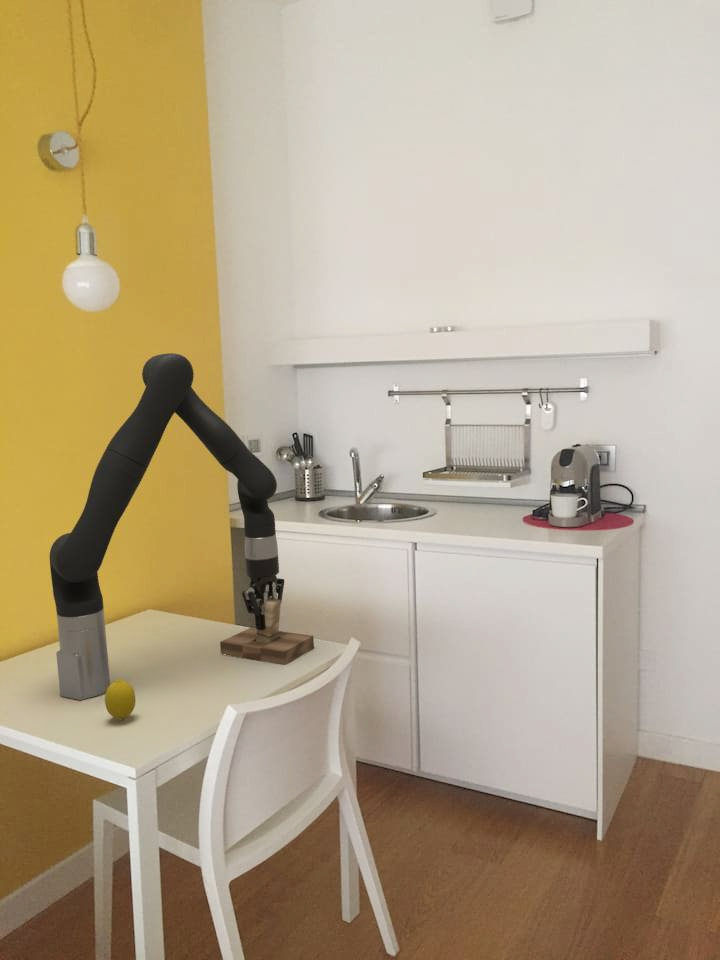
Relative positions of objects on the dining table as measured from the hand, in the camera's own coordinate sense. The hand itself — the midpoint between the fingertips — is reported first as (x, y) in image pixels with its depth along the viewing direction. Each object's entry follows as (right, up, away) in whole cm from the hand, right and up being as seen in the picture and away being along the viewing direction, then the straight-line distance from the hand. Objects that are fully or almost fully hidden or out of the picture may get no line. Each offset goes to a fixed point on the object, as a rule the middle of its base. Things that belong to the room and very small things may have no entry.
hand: (266, 626), depth 192 cm
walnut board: (0, -6, +1) cm, 6 cm away
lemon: (-24, -12, -35) cm, 44 cm away
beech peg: (0, -4, +1) cm, 4 cm away
